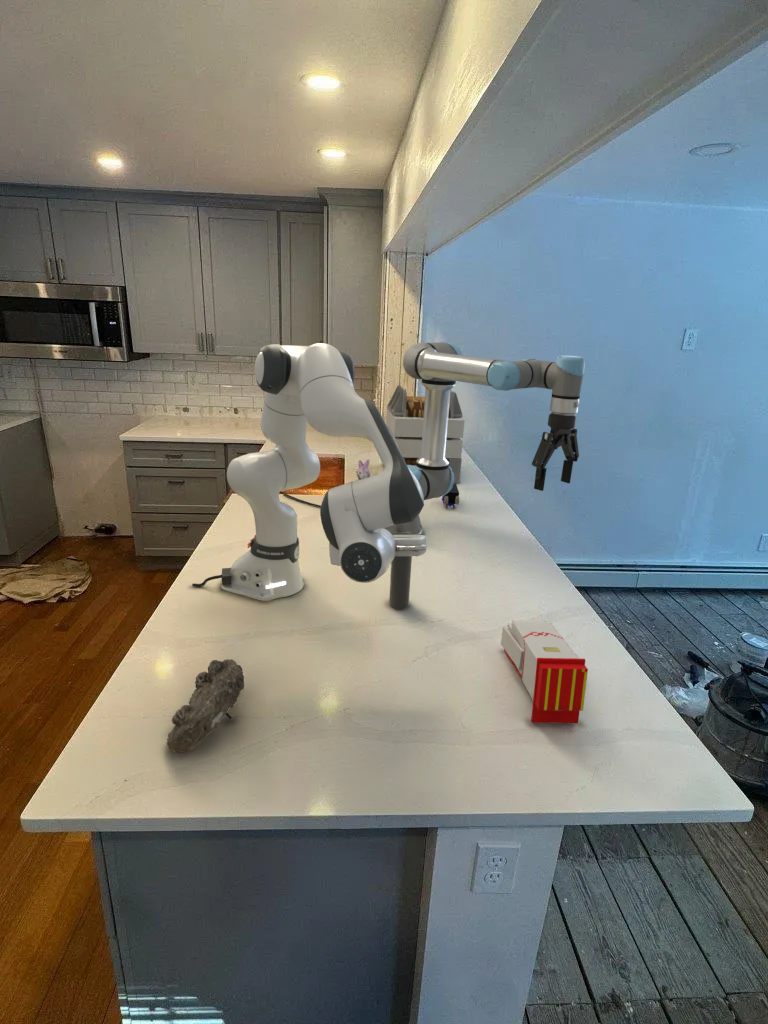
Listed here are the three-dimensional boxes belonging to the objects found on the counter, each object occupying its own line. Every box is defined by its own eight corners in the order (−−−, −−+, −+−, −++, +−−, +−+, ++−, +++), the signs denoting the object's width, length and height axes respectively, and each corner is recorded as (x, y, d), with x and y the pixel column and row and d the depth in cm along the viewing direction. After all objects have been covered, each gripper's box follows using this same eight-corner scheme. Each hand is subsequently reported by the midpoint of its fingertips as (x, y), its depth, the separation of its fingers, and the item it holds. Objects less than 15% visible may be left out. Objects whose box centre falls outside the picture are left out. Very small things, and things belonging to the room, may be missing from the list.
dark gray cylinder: (390, 609, 150) (394, 542, 143) (387, 600, 154) (390, 534, 148) (410, 608, 150) (414, 541, 144) (406, 599, 155) (410, 534, 149)
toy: (547, 606, 135) (596, 665, 106) (541, 658, 138) (589, 729, 108) (496, 604, 134) (532, 664, 105) (492, 657, 137) (526, 729, 108)
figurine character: (459, 513, 226) (454, 497, 240) (461, 496, 223) (456, 481, 236) (442, 513, 226) (439, 497, 239) (444, 496, 222) (440, 480, 236)
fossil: (192, 660, 117) (244, 628, 112) (224, 691, 120) (276, 661, 115) (142, 746, 98) (202, 712, 93) (182, 779, 101) (242, 748, 96)
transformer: (382, 463, 289) (386, 382, 275) (445, 464, 293) (451, 384, 279) (390, 482, 257) (394, 392, 243) (460, 483, 261) (468, 394, 247)
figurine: (360, 499, 233) (361, 464, 228) (349, 492, 242) (350, 458, 237) (380, 497, 237) (381, 462, 232) (369, 490, 246) (370, 456, 241)
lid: (392, 549, 143) (393, 541, 142) (388, 539, 149) (389, 532, 148) (416, 548, 144) (417, 540, 143) (411, 539, 150) (412, 531, 149)
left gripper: (426, 532, 109) (428, 525, 123) (322, 533, 112) (336, 526, 125) (426, 565, 110) (429, 554, 124) (323, 564, 112) (336, 554, 126)
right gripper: (548, 419, 148) (537, 496, 155) (598, 411, 163) (586, 482, 171) (525, 414, 153) (515, 489, 160) (575, 407, 169) (564, 476, 176)
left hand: (381, 540), depth 125 cm, fingers open, 8 cm apart
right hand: (552, 485), depth 166 cm, fingers open, 13 cm apart
